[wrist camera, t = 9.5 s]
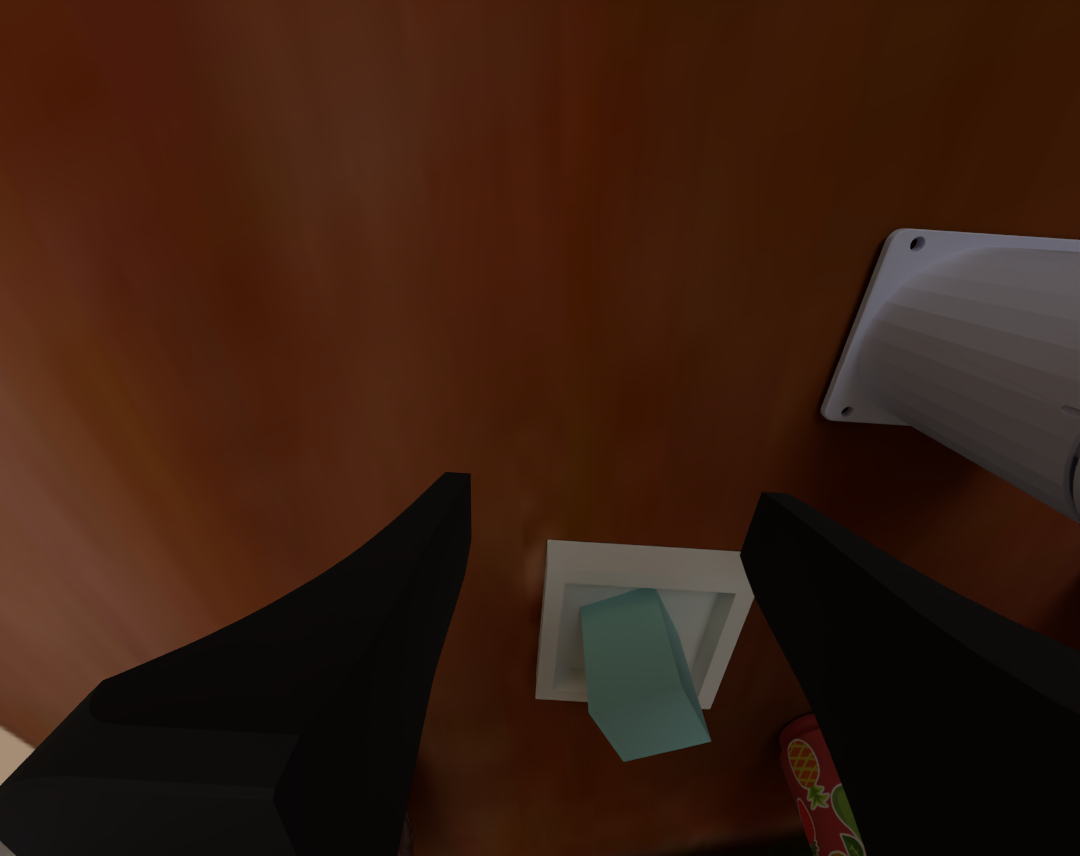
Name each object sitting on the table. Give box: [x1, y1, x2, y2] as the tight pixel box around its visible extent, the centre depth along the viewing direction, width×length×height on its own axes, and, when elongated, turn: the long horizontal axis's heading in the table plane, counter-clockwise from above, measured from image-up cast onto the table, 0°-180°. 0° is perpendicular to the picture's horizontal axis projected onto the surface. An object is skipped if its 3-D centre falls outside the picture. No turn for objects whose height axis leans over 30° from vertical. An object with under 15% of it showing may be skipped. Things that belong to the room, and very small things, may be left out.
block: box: [581, 588, 711, 762], centre depth 23 cm, size 4×4×6 cm
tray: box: [536, 540, 754, 709], centre depth 25 cm, size 11×11×2 cm
